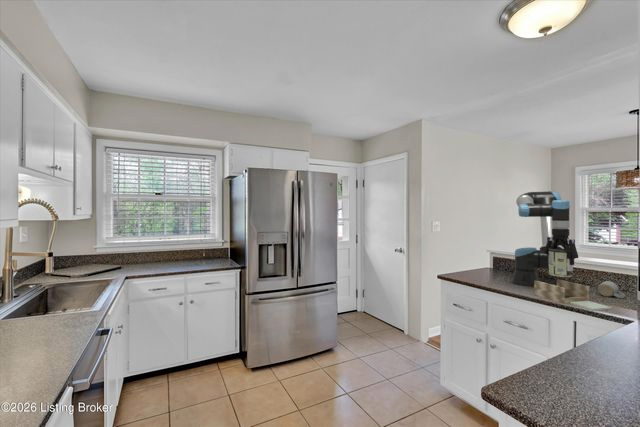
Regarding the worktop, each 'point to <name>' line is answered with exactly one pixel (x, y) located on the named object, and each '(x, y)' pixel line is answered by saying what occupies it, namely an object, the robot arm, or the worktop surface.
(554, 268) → the coffee can
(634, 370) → the worktop surface
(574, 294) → the access box
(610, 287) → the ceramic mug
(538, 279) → the robot arm
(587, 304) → the trivet
